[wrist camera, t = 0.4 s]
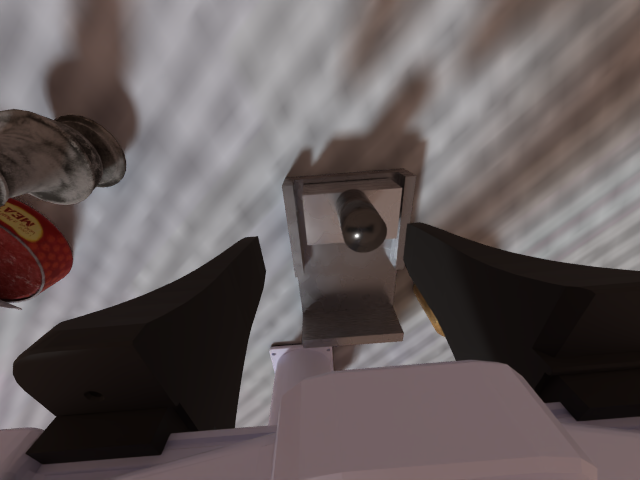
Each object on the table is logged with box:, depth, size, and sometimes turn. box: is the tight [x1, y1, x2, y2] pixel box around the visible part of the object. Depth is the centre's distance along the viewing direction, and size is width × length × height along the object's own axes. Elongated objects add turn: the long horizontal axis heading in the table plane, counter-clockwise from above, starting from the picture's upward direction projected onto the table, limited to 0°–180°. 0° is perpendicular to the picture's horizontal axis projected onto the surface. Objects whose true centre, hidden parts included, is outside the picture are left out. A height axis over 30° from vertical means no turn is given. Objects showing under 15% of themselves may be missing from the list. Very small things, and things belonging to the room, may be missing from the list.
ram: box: [302, 178, 402, 253], centre depth 16 cm, size 4×7×7 cm, turn 94°
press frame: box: [282, 169, 416, 349], centre depth 21 cm, size 16×10×4 cm, turn 4°
